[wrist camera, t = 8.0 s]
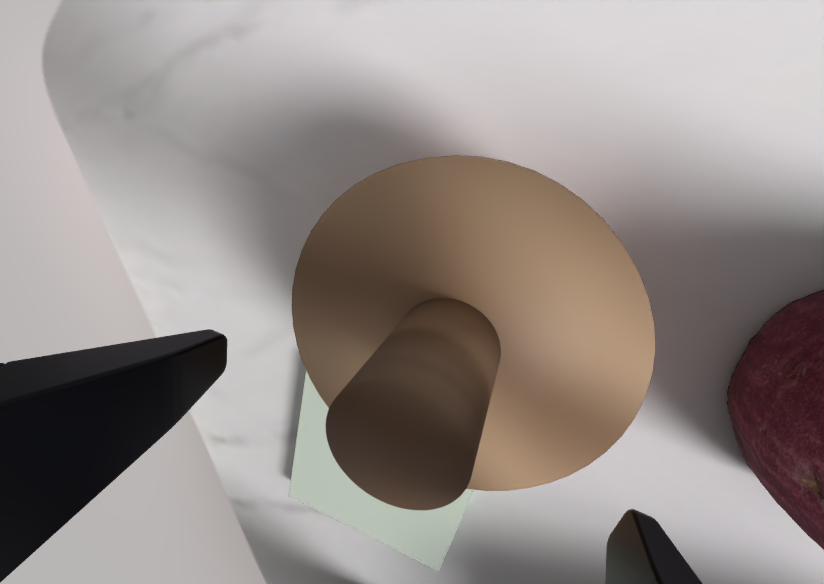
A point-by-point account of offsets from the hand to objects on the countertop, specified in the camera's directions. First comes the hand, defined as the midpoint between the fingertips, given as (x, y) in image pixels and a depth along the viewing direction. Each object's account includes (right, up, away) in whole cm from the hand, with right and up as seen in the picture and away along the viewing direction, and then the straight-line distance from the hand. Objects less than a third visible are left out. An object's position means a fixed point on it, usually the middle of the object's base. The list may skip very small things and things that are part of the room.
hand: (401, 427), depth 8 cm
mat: (-1, -7, +14) cm, 16 cm away
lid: (+2, +1, +4) cm, 5 cm away
